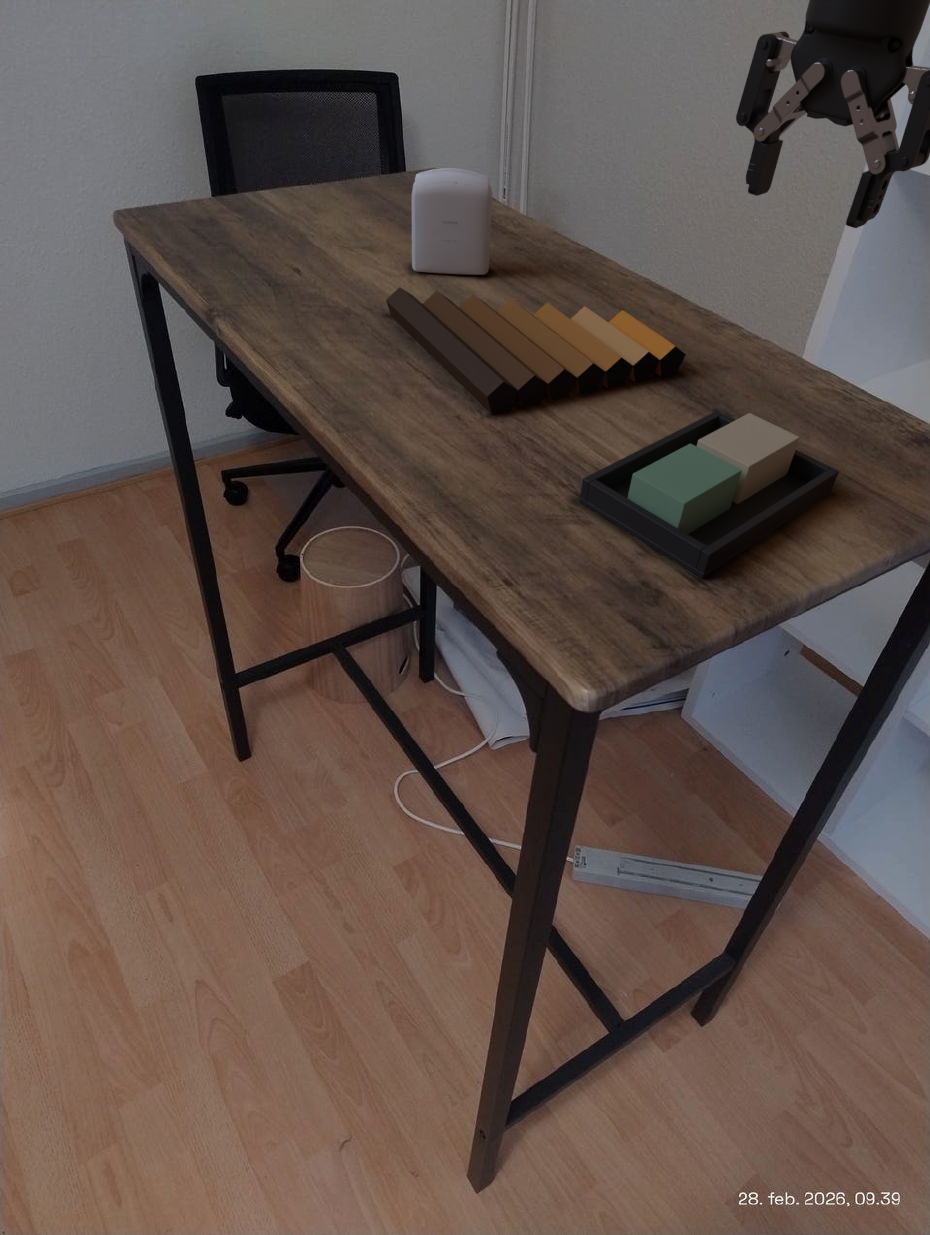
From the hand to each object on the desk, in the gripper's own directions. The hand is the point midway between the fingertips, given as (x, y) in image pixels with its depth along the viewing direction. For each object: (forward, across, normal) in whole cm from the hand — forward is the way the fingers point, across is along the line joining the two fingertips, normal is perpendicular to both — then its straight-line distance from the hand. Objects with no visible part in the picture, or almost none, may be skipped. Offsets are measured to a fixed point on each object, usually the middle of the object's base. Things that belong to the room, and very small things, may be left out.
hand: (805, 208), depth 67 cm
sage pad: (+23, +2, -10) cm, 25 cm away
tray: (+23, +2, -6) cm, 24 cm away
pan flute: (+24, -30, +4) cm, 39 cm away
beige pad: (+23, +2, -1) cm, 23 cm away
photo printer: (+24, -52, +12) cm, 58 cm away
